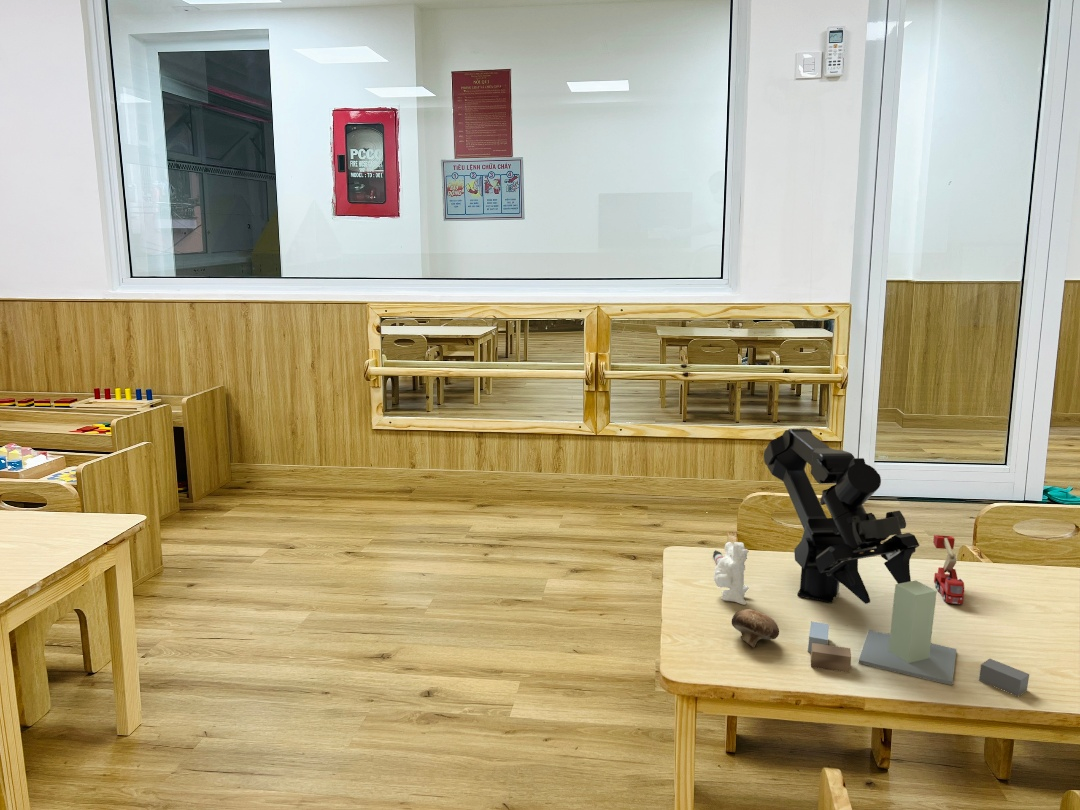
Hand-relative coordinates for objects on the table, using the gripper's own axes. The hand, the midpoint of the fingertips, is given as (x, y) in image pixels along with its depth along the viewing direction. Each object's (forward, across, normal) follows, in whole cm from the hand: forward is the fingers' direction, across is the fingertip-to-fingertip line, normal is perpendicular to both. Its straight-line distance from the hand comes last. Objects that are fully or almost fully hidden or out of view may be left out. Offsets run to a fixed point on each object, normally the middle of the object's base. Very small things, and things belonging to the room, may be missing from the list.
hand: (889, 598), depth 145 cm
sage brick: (+9, 0, +1) cm, 9 cm away
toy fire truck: (-2, +27, +14) cm, 31 cm away
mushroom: (0, -21, +12) cm, 24 cm away
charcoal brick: (+18, +7, -7) cm, 21 cm away
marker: (-20, -8, +33) cm, 39 cm away
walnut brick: (+8, -14, +4) cm, 17 cm away
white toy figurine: (-11, -14, +23) cm, 30 cm away
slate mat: (+10, 0, +2) cm, 10 cm away
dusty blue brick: (+4, -11, +8) cm, 15 cm away
